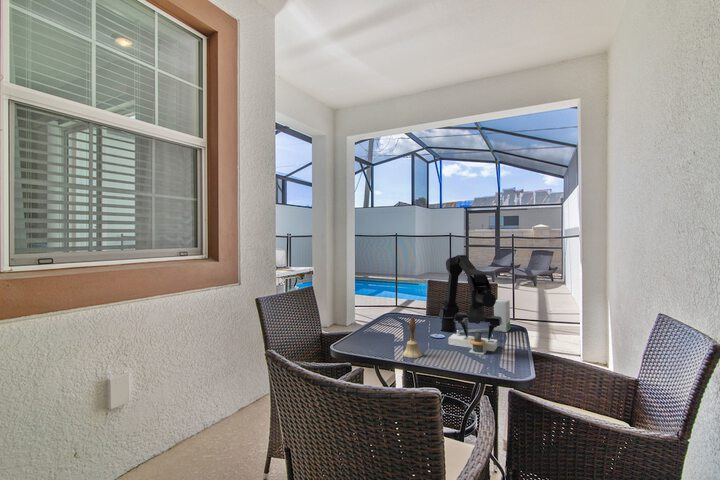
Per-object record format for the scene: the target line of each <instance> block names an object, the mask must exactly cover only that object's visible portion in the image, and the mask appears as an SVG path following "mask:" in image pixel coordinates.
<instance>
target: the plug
mask: <svg viewBox="0 0 720 480" xmlns="http://www.w3.org/2000/svg"><path fill="white" fill-rule="evenodd" d="M473 333H474V334H473V335H474V336H473V337H474V339H471V340H470V343H471V344H473V351H474V352H483V345H485V344H486V341H484V340H481V338H482V332H478V331H476V332H473Z"/></svg>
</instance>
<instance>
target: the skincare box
mask: <svg viewBox="0 0 720 480" xmlns="http://www.w3.org/2000/svg"><path fill="white" fill-rule="evenodd" d="M510 301H511V300H510V299H501V298H500V299H496V303H495V304H494V306H493V316H499V317H501V318H502V323H501V325H500V326H497V327H495V328H494V330H493V331H495V332H503V333H507V332H508V331H509V330H510V329H511V308H510V306H511V305H510V304H511V303H510Z"/></svg>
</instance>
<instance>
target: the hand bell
mask: <svg viewBox="0 0 720 480" xmlns="http://www.w3.org/2000/svg"><path fill="white" fill-rule="evenodd" d="M416 325H417V324H416V320H415V317H414V316H411V317H410V320H409V324H408V326H409V331H410V332H409V333H410V335H409V336H410V338H409V339H410V340H408V341H406V347H405V350H404V351H402V356H403V357H405V358H409V359H419V358H421V357H423V353H422V352H421V351H420V349H419V345H418V344H419V343H418V341H416V340H415V330H416Z"/></svg>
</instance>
